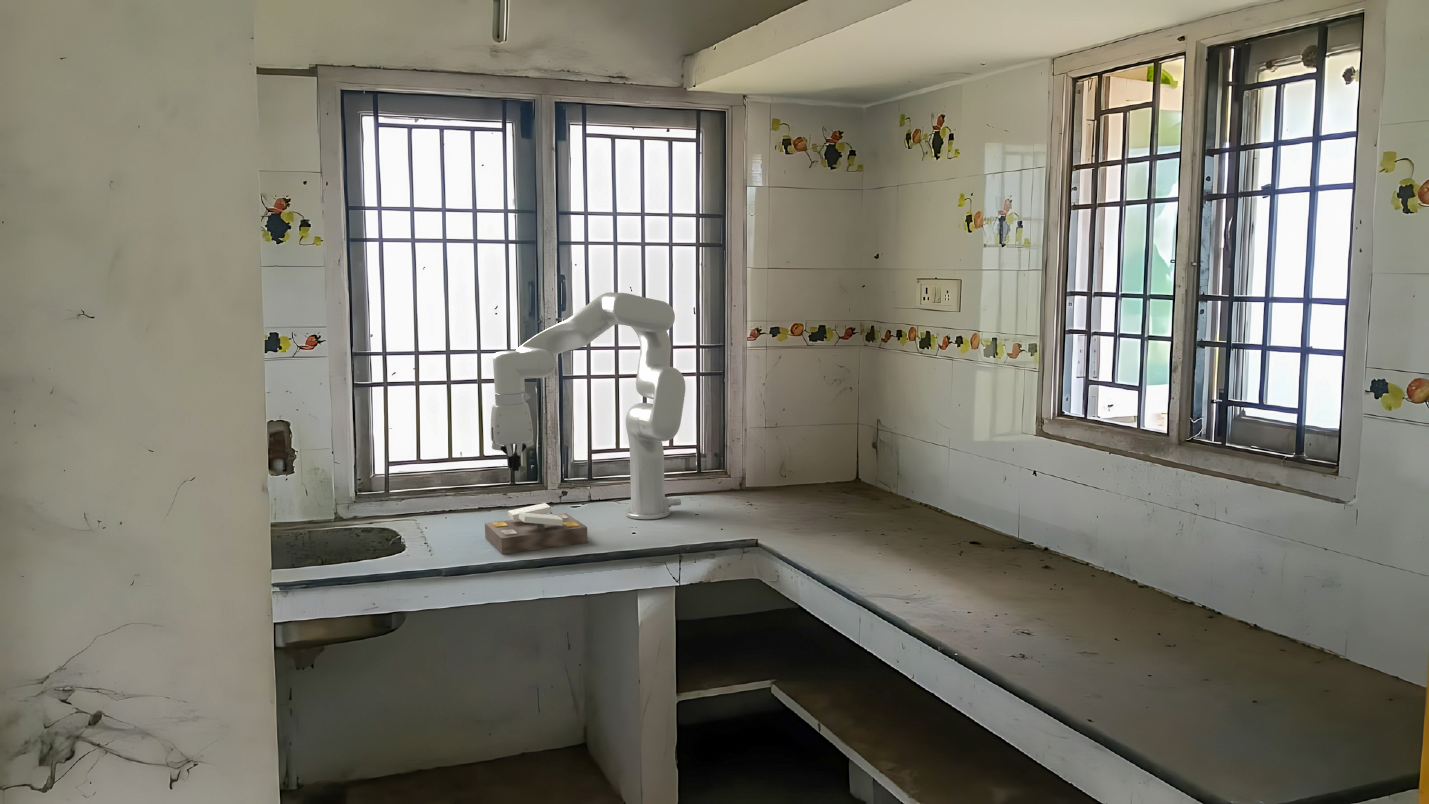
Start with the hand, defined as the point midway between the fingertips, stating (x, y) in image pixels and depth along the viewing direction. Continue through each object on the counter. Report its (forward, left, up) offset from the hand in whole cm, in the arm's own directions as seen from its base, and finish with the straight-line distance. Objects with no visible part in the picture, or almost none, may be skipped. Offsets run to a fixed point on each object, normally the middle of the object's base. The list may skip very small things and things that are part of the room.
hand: (514, 470), depth 267 cm
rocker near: (-4, +9, -12) cm, 16 cm away
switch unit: (-4, +5, -18) cm, 19 cm away
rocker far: (-4, 0, -12) cm, 13 cm away
